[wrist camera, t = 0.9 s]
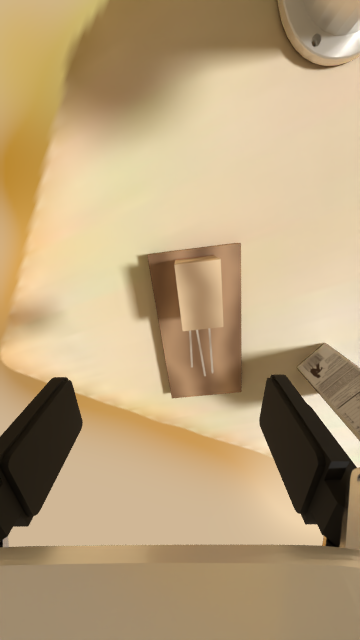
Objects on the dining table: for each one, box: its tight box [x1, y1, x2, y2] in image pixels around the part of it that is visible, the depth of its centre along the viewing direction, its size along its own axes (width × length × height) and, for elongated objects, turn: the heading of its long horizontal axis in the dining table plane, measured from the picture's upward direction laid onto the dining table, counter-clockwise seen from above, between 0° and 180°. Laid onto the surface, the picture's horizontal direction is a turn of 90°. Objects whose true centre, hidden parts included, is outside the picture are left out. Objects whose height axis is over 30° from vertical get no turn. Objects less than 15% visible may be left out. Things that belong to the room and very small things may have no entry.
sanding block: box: [174, 255, 223, 331], centre depth 26 cm, size 5×8×5 cm, turn 7°
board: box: [147, 243, 241, 398], centre depth 32 cm, size 12×24×2 cm, turn 7°
